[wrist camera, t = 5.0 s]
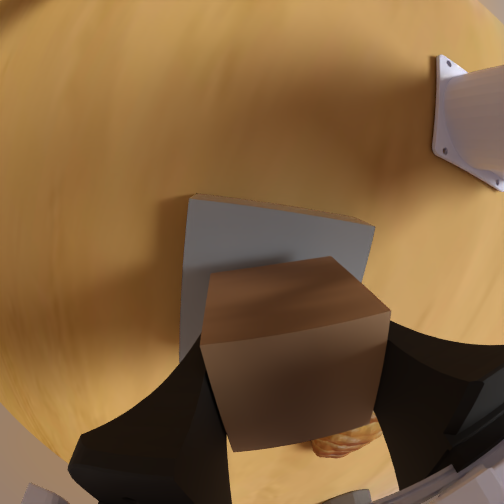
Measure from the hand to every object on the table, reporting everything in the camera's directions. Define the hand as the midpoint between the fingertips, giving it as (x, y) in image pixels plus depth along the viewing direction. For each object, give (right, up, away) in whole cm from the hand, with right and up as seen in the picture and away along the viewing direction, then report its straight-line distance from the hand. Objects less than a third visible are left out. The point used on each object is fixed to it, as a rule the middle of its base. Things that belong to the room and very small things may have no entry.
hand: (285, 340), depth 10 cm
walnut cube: (0, +1, +2) cm, 2 cm away
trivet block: (0, +2, +6) cm, 6 cm away
